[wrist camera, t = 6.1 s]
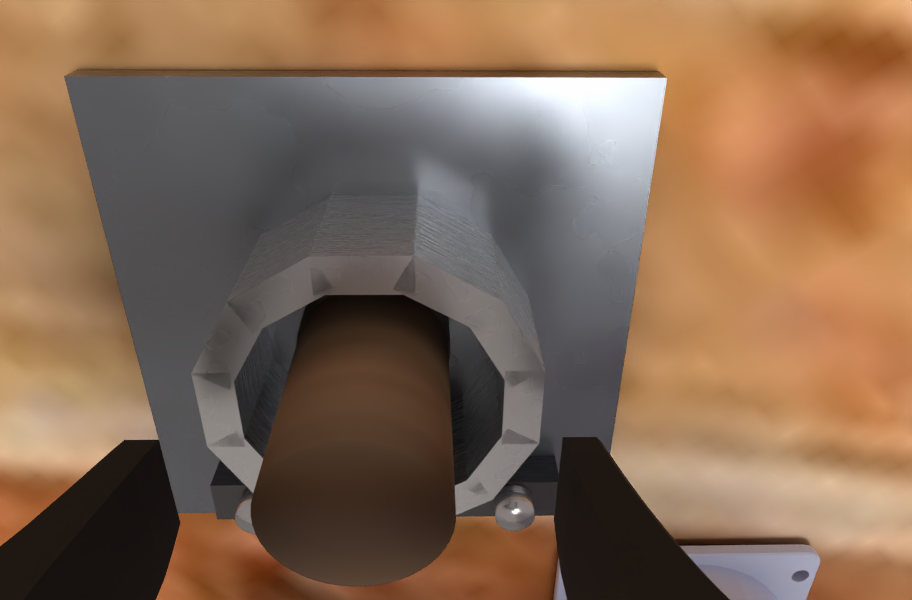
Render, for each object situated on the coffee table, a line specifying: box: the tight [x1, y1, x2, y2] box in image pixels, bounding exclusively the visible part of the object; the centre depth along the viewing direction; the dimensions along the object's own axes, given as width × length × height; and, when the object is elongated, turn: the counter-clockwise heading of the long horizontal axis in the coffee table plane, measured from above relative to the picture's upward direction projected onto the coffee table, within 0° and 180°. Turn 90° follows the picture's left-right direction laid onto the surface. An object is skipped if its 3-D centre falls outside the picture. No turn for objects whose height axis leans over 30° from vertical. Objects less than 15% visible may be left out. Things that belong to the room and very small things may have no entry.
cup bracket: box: [64, 70, 667, 534], centre depth 16 cm, size 12×12×4 cm
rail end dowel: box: [250, 295, 456, 586], centre depth 14 cm, size 4×4×6 cm
